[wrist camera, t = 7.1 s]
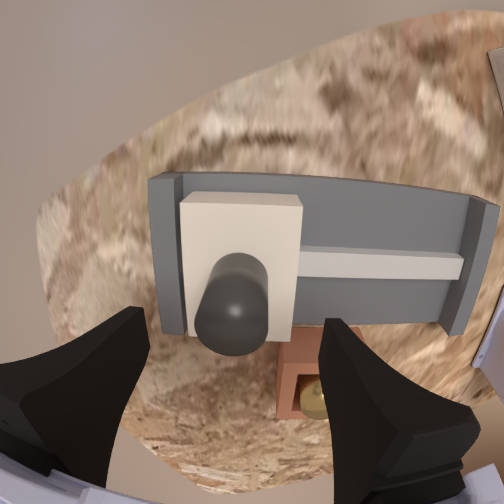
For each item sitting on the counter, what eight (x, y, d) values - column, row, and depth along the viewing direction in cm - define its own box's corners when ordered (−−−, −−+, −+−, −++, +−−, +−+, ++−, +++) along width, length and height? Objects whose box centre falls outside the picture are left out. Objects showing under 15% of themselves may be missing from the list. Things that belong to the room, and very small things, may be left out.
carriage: (287, 314, 20) (294, 396, 14) (198, 309, 21) (170, 387, 14) (297, 194, 18) (317, 236, 11) (193, 191, 18) (148, 230, 11)
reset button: (335, 390, 22) (342, 418, 19) (295, 390, 22) (298, 420, 19) (344, 360, 21) (352, 389, 18) (300, 360, 21) (304, 391, 18)
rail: (446, 314, 22) (462, 334, 19) (173, 309, 22) (162, 333, 20) (476, 195, 18) (500, 206, 15) (164, 172, 19) (147, 179, 16)
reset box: (344, 382, 24) (352, 416, 21) (275, 383, 25) (276, 418, 21) (359, 327, 22) (372, 361, 19) (281, 327, 22) (283, 363, 19)
